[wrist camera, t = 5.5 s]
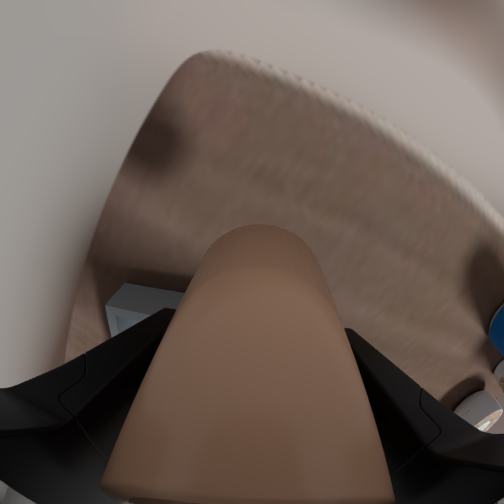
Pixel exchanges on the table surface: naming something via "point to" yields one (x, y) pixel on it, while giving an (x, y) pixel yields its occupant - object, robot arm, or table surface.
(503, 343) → the beverage can
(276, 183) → the table surface
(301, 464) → the cup
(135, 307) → the tray
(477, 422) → the cosmetic set
